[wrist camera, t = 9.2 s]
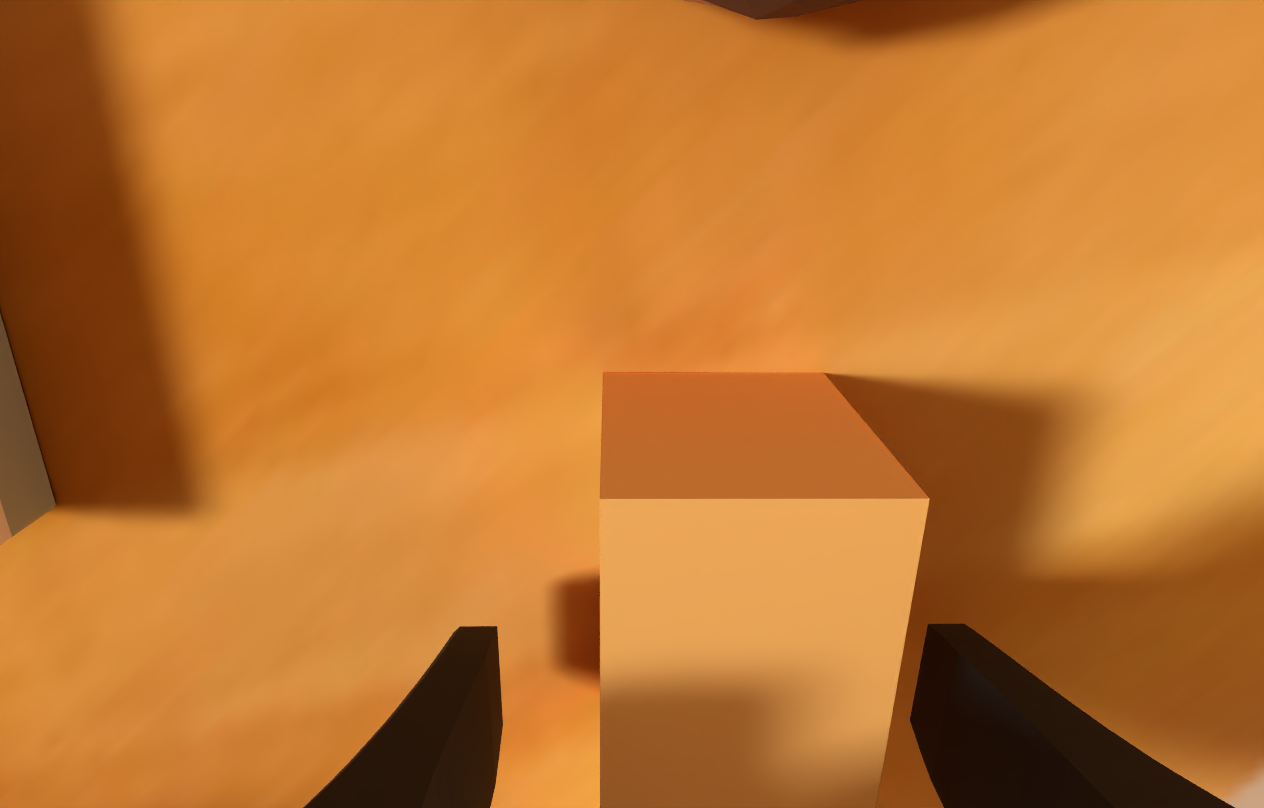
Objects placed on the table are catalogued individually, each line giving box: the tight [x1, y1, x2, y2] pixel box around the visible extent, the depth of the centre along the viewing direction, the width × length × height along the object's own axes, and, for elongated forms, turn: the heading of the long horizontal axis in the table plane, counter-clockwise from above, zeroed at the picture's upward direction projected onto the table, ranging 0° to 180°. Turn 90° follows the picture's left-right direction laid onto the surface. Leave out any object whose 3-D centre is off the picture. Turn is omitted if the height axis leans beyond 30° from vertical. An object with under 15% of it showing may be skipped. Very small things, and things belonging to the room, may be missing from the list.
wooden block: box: [600, 372, 930, 808], centre depth 12 cm, size 10×4×4 cm, turn 179°
